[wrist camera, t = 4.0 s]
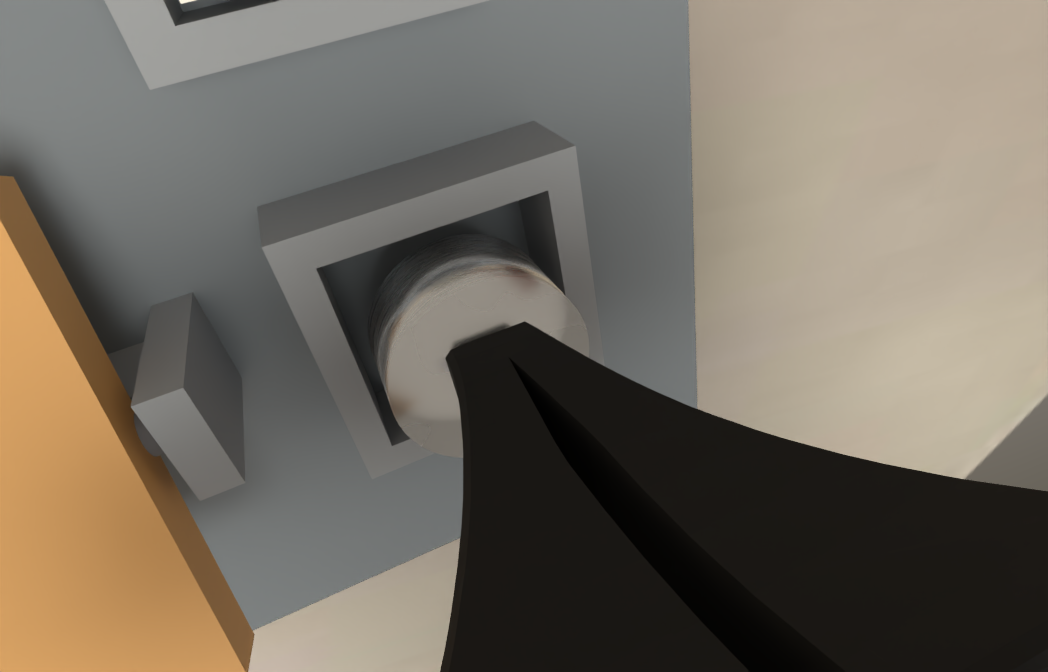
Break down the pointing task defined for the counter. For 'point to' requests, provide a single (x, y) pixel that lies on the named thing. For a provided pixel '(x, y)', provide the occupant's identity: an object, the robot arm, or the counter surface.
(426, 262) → the button round
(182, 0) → the button square
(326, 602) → the counter surface
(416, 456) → the console
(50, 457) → the rocker
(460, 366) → the robot arm
